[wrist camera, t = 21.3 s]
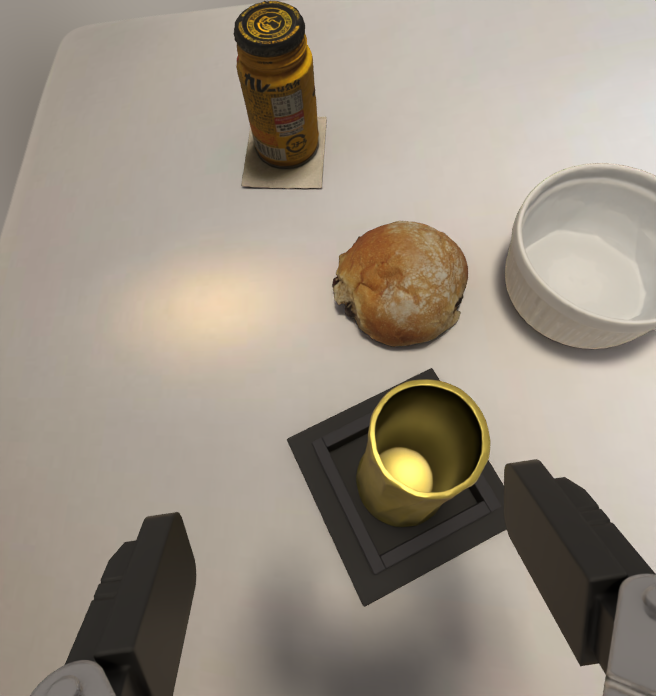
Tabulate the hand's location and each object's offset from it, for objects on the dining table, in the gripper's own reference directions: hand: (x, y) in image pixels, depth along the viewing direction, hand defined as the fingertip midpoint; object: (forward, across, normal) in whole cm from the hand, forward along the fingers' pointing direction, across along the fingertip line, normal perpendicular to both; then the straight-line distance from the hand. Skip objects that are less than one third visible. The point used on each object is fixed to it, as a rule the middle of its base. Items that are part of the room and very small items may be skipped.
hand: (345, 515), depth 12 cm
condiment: (+41, +1, -7) cm, 42 cm away
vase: (+18, -4, +14) cm, 24 cm away
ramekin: (+28, -21, +6) cm, 36 cm away
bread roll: (+30, -7, +4) cm, 31 cm away
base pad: (+19, -4, +14) cm, 24 cm away
